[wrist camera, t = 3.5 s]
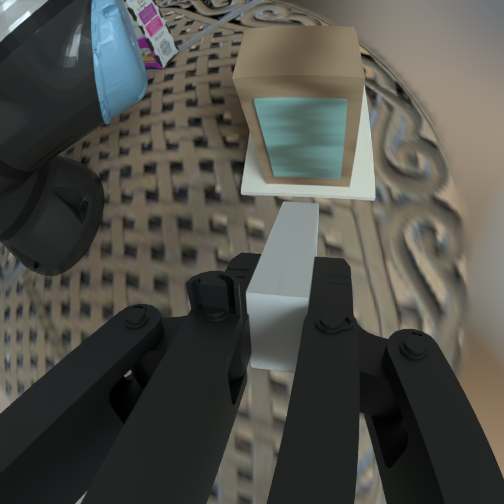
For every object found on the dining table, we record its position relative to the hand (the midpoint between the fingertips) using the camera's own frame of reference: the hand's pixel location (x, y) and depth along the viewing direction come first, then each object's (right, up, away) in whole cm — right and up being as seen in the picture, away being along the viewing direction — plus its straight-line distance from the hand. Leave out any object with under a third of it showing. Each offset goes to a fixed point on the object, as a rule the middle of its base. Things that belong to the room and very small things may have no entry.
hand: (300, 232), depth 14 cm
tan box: (+4, +8, +17) cm, 19 cm away
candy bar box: (-19, +31, +29) cm, 46 cm away
